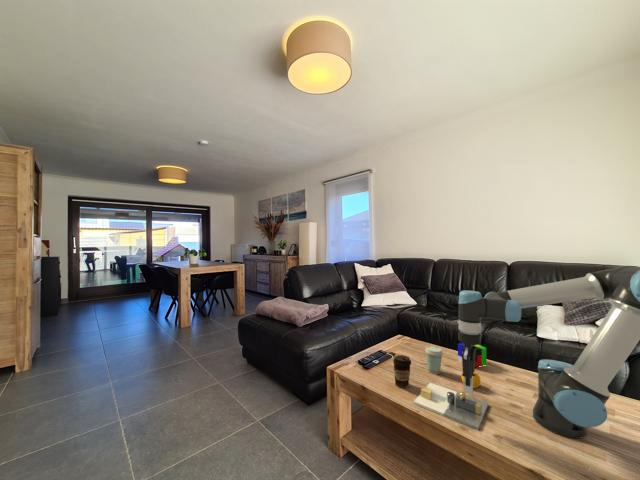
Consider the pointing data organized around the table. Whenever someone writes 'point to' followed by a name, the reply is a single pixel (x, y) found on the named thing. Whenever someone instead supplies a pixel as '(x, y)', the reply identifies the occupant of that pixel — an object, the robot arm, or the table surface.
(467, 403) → the swing bar
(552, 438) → the table surface
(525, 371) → the table surface
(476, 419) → the plate
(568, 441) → the table surface
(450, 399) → the pivot post
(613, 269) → the robot arm
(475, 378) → the orange
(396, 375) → the coffee cup
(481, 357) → the puzzle toy
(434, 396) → the door board
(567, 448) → the table surface
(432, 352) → the coffee cup
